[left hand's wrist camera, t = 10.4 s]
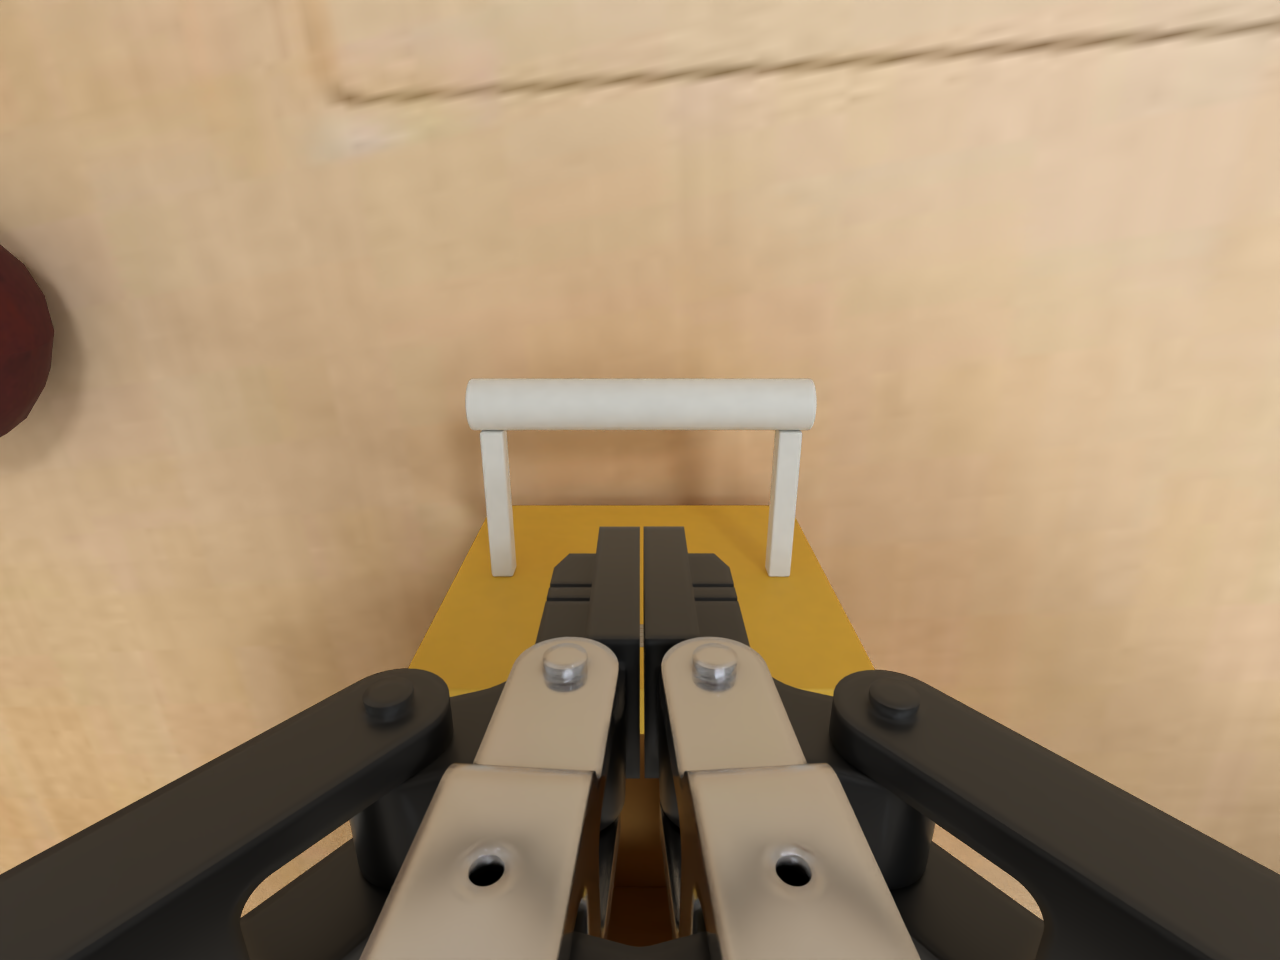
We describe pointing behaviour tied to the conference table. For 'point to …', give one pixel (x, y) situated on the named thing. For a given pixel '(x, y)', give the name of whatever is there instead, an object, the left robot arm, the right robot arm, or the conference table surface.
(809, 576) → the drawer
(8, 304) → the potato
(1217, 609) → the conference table surface
